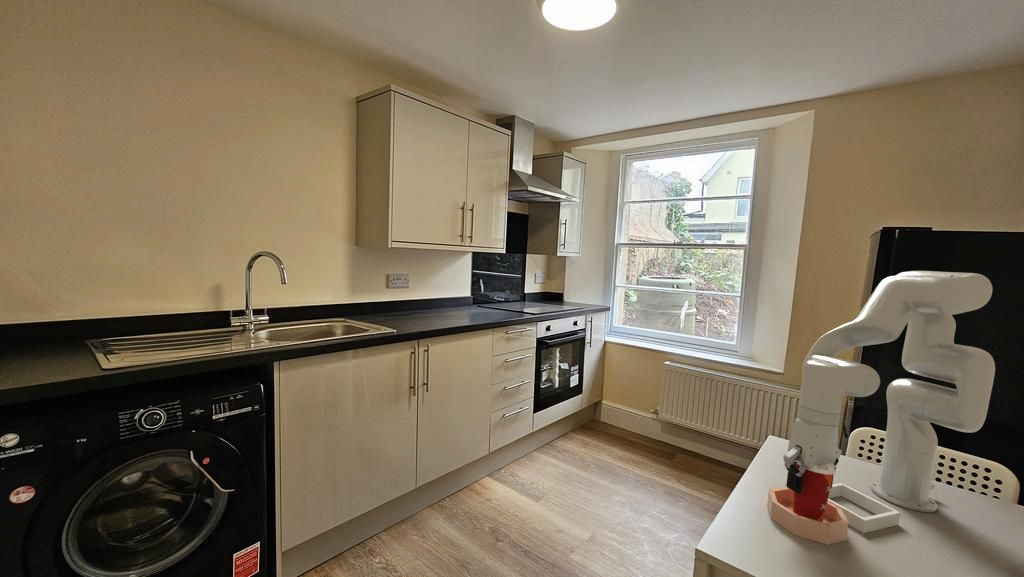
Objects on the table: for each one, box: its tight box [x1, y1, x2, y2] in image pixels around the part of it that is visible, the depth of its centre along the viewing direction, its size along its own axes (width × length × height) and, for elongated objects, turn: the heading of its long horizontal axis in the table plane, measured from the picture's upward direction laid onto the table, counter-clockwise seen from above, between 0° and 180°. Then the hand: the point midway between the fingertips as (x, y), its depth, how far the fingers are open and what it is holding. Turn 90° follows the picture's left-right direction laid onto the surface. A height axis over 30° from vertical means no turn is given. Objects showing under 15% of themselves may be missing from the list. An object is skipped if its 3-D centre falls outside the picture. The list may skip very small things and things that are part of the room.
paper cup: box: [793, 459, 836, 522], centre depth 92 cm, size 8×8×14 cm
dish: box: [766, 486, 849, 545], centre depth 92 cm, size 14×14×4 cm
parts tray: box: [828, 482, 901, 534], centre depth 98 cm, size 13×13×3 cm
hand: (809, 487), depth 92 cm, fingers open, 9 cm apart
